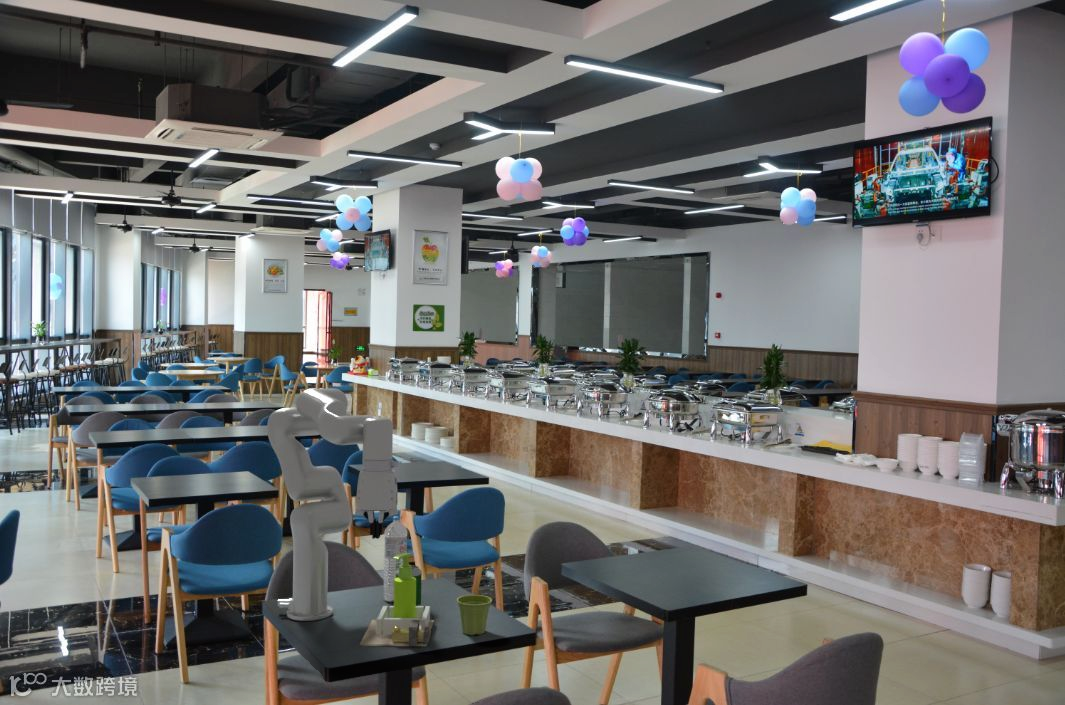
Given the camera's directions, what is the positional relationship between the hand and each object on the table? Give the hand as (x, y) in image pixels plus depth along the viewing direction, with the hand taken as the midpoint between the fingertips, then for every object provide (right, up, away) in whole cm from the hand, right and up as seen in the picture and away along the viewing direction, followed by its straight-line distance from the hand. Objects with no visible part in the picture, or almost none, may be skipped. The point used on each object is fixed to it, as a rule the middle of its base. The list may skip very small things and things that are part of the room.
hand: (376, 537), depth 217 cm
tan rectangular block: (+8, -26, 0) cm, 28 cm away
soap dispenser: (+5, -27, +11) cm, 30 cm away
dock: (+5, -27, +12) cm, 30 cm away
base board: (+4, -27, +8) cm, 29 cm away
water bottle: (-1, -27, +38) cm, 47 cm away
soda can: (+4, -28, +30) cm, 41 cm away
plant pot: (+24, -28, +10) cm, 38 cm away
